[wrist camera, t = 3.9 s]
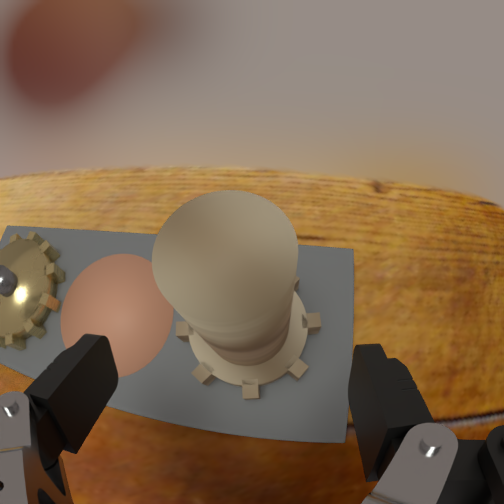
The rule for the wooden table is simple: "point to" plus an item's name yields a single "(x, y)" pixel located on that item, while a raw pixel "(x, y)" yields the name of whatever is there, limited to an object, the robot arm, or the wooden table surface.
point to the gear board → (180, 353)
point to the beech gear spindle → (235, 288)
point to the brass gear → (27, 288)
